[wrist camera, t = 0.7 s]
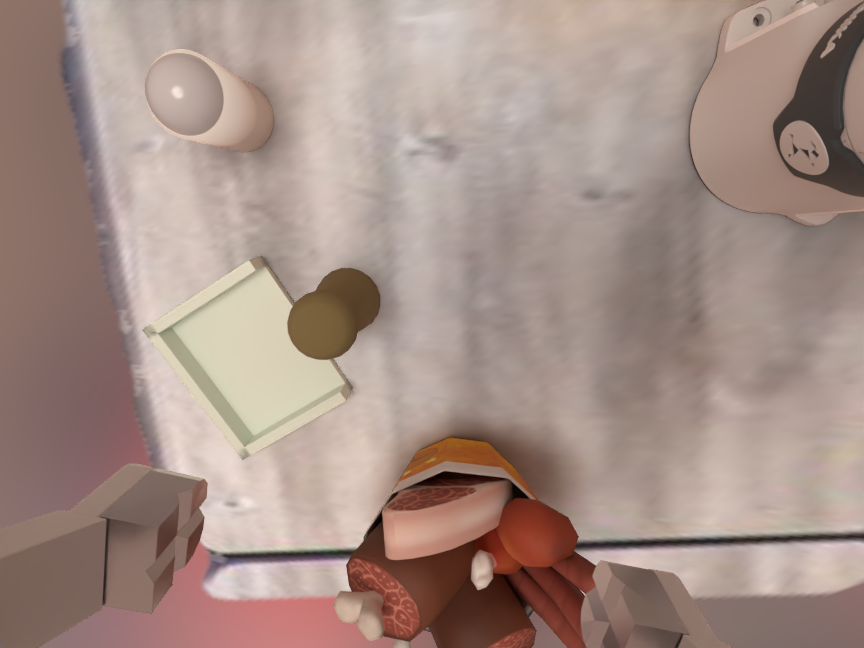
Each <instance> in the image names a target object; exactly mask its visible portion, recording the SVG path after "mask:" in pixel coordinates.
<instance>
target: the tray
mask: <svg viewBox="0 0 864 648" xmlns="http://www.w3.org/2000/svg"><path fill="white" fill-rule="evenodd" d="M293 306H294V302H293V301H292V299H291V298H290V296H289V295H288V294H287V292H286V291H285V289H284V288H283V286H282V285H281V283H280V282H279V280H278V279H277V277H276V276H275V275H274V273H273V272H272V270H271V269H270V267H269V266H268V264H267V263H266V261H265V260H264V259H263V257H262V256H261V257H258V258H255V259H252V260H249V261H247V262H246V263H244V264H242V265H241V266H239V267H238V268H236V269H235V270H233V271H232V272H230V273H229V274H227V275H226V276H224V277H222V278H221V279H219V280H218V281H216V282H215V283H213V284H212V285H210V286H209V287H207V288H206V289H204V290H203V291H201V292H199V293H198V294H196V295H195V296H193V297H192V298H190V299H189V300H187V301H186V302H184V303H183V304H181V305H179V306H178V307H176V308H175V309H173V310H172V311H170V312H169V313H167V314H166V315H164V316H163V317H161V318H160V319H158V320H156V321H155V322H153V323H152V324H150V325H149V326H147V327H146V328H144V329H143V332H144V333H145V334H146V335H147V337H148V338H149V339H150V341H151V342H152V343H153V345H154V346H155V347H156V348H157V350H158V351H159V352H160V354H161V355H162V356H163V358H164V359H165V360H166V361H167V363H168V364H169V365H170V367H171V368H172V369H173V371H174V372H175V373H176V374H177V376H178V377H179V378H180V380H181V381H182V382H183V384H184V385H185V386H186V387H187V389H188V390H189V391H190V393H191V394H192V395H193V397H194V398H195V399H196V400H197V402H198V403H199V404H200V406H201V407H202V408H203V410H204V411H205V412H206V413H207V415H208V416H209V417H210V419H211V420H212V421H213V423H214V424H215V425H216V426H217V428H218V429H219V430H220V432H221V433H222V434H223V436H224V437H225V438H226V439H227V441H228V442H229V443H230V445H231V446H232V447H233V449H234V450H235V451H236V452H237V454H238V455H239V456H240V458H241V459H242V460H243V459H245V458H247V457H249V456H250V455H252V454H254V453H256V452H257V451H259V450H261V449H263V448H264V447H266V446H268V445H270V444H271V443H273V442H275V441H277V440H278V439H280V438H282V437H284V436H285V435H287V434H289V433H291V432H292V431H294V430H296V429H298V428H299V427H301V426H303V425H305V424H306V423H308V422H310V421H312V420H313V419H315V418H317V417H319V416H320V415H322V414H324V413H326V412H327V411H329V410H331V409H333V408H334V407H336V406H338V405H340V404H341V403H343V402H345V401H346V400H347V398H348V396H349V394H350V392H351V390H352V387H351V385H350V384H349V382H348V381H347V380H346V378H345V377H344V375H343V374H342V372H341V371H340V369H339V368H338V366H337V365H336V364H335V362H334V361H333V359H329V360H316V359H313V358H310V357H307V356H306V355H304V354H303V353H301V352H300V351H298V349H297V348H296V347H295V346H294V344H293V343H292V342H291V339H290V337H289V334H288V328H287V321H288V317H289V313H290V310H291V309H292V307H293Z"/></svg>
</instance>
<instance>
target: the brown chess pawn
mask: <svg viewBox="0 0 864 648" xmlns="http://www.w3.org/2000/svg"><path fill="white" fill-rule="evenodd" d="M379 308H380V295H379V292H378V289H377V286H376V285H375V283H374V282H373V281H372V279H371V278H370V277H368V276H367V275H366V274H364V273H363V272H361V271H358V270H355V269H352V268H341V269H338V270H335V271H332V272H331V273H329V274H328V275H327V276H325V277H324V278H323V280H322V281H321V283H320V284H319V286H318V287H317V289H316V291H314V292H311V293H308V294H306V295H304V296H303V297H302V298H300V299H299V300H298V301H296V303H295V304H294V306H293V307H292V309H291V310H290V313H289V317H288V321H287V328H288V334H289V337H290V339H291V342H292V343H293V344H294V346H295V347H296V348H297V349H298V351H300V352H301V353H303V354H304V355H306V356H307V357H310V358H313V359H316V360H329V359H332V358H335V357H339V356H341V355H342V354H344V353H345V352H346V351H348V350H349V348H350V347H351V346H352V344H353V343H354V341H355V340H356V337H357V333H358V332H359V331H360V330H362V329H364V328H365V327H366V326H368V325H369V324H371V323H372V322H373V320H374V319H375V317H376V316H377V314H378V311H379Z"/></svg>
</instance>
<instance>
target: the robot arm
mask: <svg viewBox="0 0 864 648" xmlns="http://www.w3.org/2000/svg"><path fill="white" fill-rule="evenodd" d="M754 17H756V18H757V19H758V21H759V24H758V26H755V25H754V24H753V19H754ZM690 147H691V153H692V157H693V161H694V164H695V167H696V169H697V171H698V173H699V175H700V177H701V179H702V180H703V182H704V183H705V185H706V186H707V187H708V188H709V189H710V191H711V192H712V193H713V194H715V195H716V196H717V197H718V198H719V199H721V200H722V201H724V202H725V203H727V204H729V205H731V206H733V207H735V208H738V209H741V210H745V211H749V212H756V213H775V214H782V215H785V216H787V217H788V218H790V219H792V220H794V221H796V222H798V223H801V224H803V225H807V226H816V225H823V224H826V223H827V222H829V221H830V220H832V219H833V218H834V217H836V216H837V215H838V214H839V213H845V212H859V211H864V0H765V1H762V2H760V3H757V4H755V5H752V6H750V7H747V8H745V9H742V10H740V11H738V12H736V13H734V14H732V15H731V16H729V17H728V18H727V20H726V21H725V23H724V25H723V27H722V30H721V34H720V39H719V45H718V51H717V58H716V61H715V63H714V65H713V67H712V70H711V71H710V73H709V75H708V77H707V78H706V80H705V82H704V84H703V86H702V88H701V90H700V92H699V94H698V97H697V99H696V102H695V105H694V109H693V112H692V117H691V124H690ZM206 497H207V482H206V480H205V479H202V478H198V477H193V476H189V475H185V474H180V473H176V472H171V471H167V470H163V469H158V468H157V469H155V468H153V467H148V466H144V465H138V464H134V463H131V464H127V465H125V466H123V467H122V468H121V469H120V470H118V471H117V472H116V473H115V474H114V475H113V476H111V477H110V478H109V479H107V480H106V481H105V482H104V483H103V484H101V485H100V486H99V487H98V488H96V489H95V490H94V491H93V492H92V493H90V494H89V495H88V496H87V497H85V498H84V499H83V500H82V501H81V502H79V503H78V504H77V505H76V506H75V507H73V508H72V509H71V510H70V511H64V510H58V511H55V512H52V513H49V514H46V515H43V516H40V517H36V518H33V519H30V520H27V521H24V522H21V523H18V524H14V525H11V526H8V527H5V528H2V529H0V648H39V647H40V646H42V645H44V644H45V643H47V642H49V641H50V640H52V639H54V638H55V637H57V636H59V635H60V634H62V633H63V632H65V631H66V630H68V629H70V628H72V627H73V626H75V625H77V624H78V623H80V622H81V621H83V620H85V619H86V618H88V617H90V616H91V615H93V614H95V613H96V612H98V611H100V610H101V609H102V606H106V607H112V608H118V609H124V610H131V611H136V612H142V613H149V614H152V612H153V611H154V609H155V608H156V607H157V605H158V604H159V602H160V601H161V600H162V598H163V597H164V595H165V594H166V593H167V591H168V590H169V588H170V587H171V586H172V581H173V572H175V571H177V570H179V569H181V568H183V567H185V566H186V564H187V563H188V561H189V560H190V559H191V557H192V556H193V554H194V552H195V549H196V547H197V545H198V543H199V541H200V538H201V534H202V530H203V524H204V515H203V514H202V512H201V510H200V509H199V507H200V505H201V504H202V503H203V502H204V500H205V499H206ZM592 577H593V579H594V582H595V584H596V587H595V588H593V589H592V590H591V591H589V592H588V593H586V595H585V598H584V601H583V605H582V609H581V630H582V636H583V639H584V642H585V646H586V647H587V648H732V647H730V646H729V645H728V644H726V643H722V642H719V641H718V640H717V638H716V637H715V635H714V633H713V632H712V630H711V628H710V627H709V625H708V624H707V622H706V621H705V619H704V617H703V616H702V614H701V612H700V611H699V609H698V608H697V606H696V604H695V603H694V601H693V599H692V598H691V596H690V595H689V593H688V591H687V590H686V588H685V587H684V585H683V583H682V582H681V580H680V579H679V577H677V576H676V575H675V574H673V573H670V572H664V571H658V570H653V569H642V568H637V567H632V566H627V565H622V564H617V563H612V562H607V561H602V560H601V561H600V562H599V563H598V564H597V565H596V568H595V570H594V573H593V576H592Z"/></svg>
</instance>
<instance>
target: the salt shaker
mask: <svg viewBox="0 0 864 648" xmlns="http://www.w3.org/2000/svg"><path fill="white" fill-rule="evenodd" d="M145 97H146V102H147V105H148V108H149V110H150V112H151V114H152V116H153V117H154V119H155V120H156V122H157V123H158V124H159V125H160V126H161V127H162V128H163V129H164V130H166V131H167V132H169V133H170V134H172V135H174V136H176V137H179V138H183V139H187V140H191V141H195V142H200V143H204V144H208V145H213V146H217V147H221V148H225V149H230V150H234V151H239V152H250V151H254V150H256V149H258V148H260V147H261V146H262V145H264V144H265V143H266V141H267V140H268V139H269V137H270V135H271V132H272V129H273V123H274V116H273V111H272V107H271V105H270V103H269V101H268V99H267V98H266V96H265V95H264V94H263V93H262V92H261V91H260V90H259V89H258V88H256V87H255V86H253V85H251V84H250V83H248V82H246V81H245V80H243V79H241V78H240V77H238V76H236V75H235V74H233V73H231V72H230V71H228V70H226V69H224V68H223V67H221V66H219V65H218V64H216V63H214V62H213V61H211V60H209V59H208V58H206V57H204V56H202V55H201V54H199V53H197V52H194V51H191V50H186V49H177V50H172V51H168V52H166V53H164V54H162V55H161V56H159V57H158V58H157V59H156V60H155V61H154V63H153V64H152V65H151V67H150V69H149V71H148V73H147V76H146V79H145Z"/></svg>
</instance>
